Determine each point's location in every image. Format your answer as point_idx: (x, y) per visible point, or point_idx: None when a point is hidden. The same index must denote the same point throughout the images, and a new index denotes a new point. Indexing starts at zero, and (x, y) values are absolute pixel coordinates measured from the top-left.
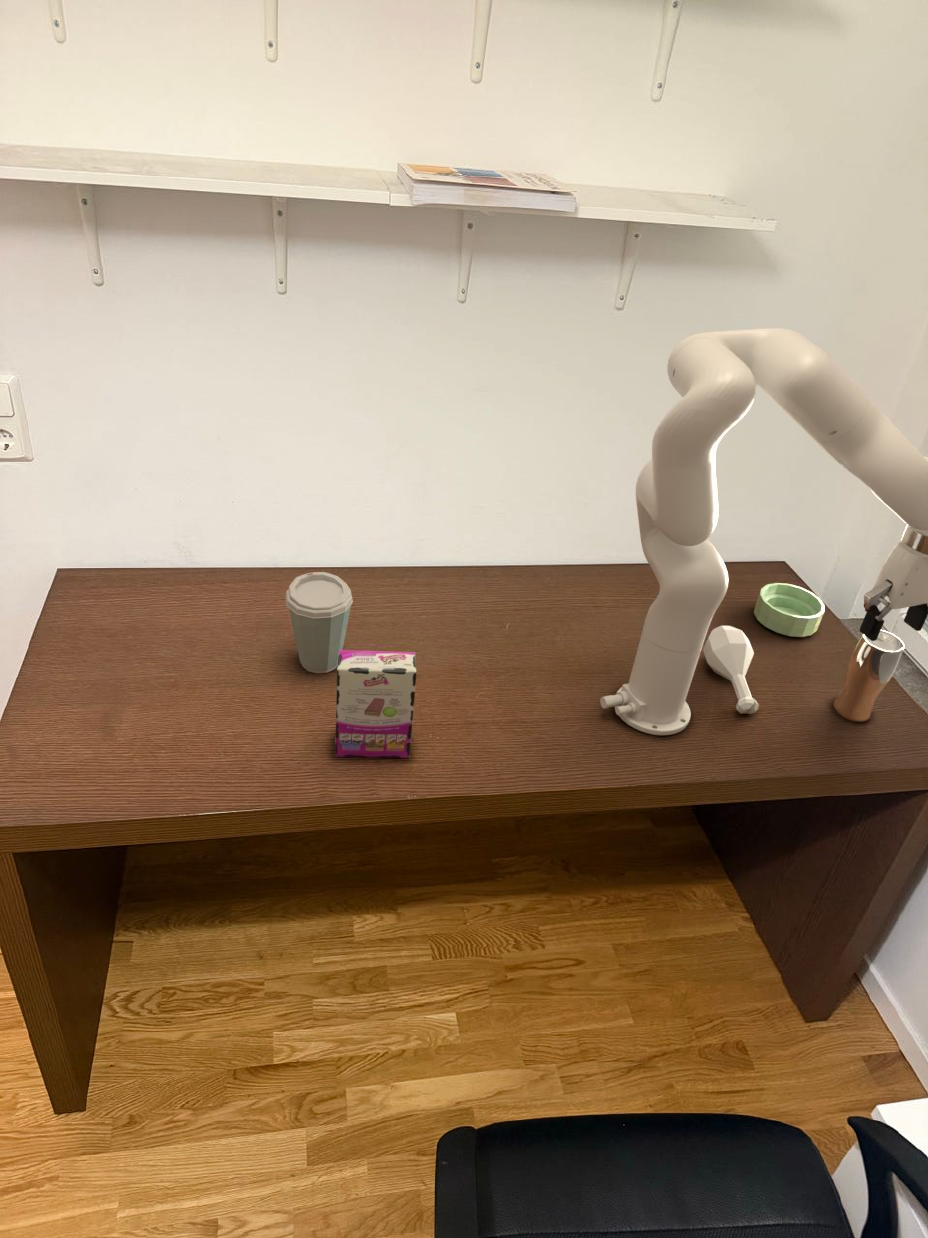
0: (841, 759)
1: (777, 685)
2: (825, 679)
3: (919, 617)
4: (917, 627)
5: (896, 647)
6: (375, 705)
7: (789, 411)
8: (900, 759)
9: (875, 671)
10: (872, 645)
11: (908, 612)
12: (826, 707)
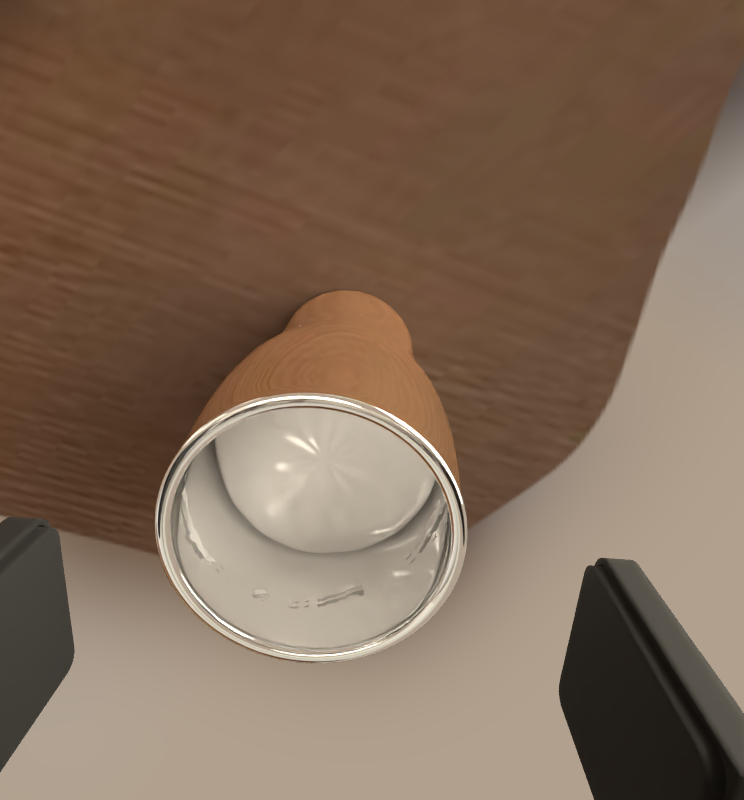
0: (124, 516)
1: (150, 111)
2: (400, 159)
3: (613, 795)
4: (568, 717)
5: (445, 534)
6: None
7: None
8: None
9: (244, 532)
10: (163, 560)
11: (632, 654)
12: (263, 306)
